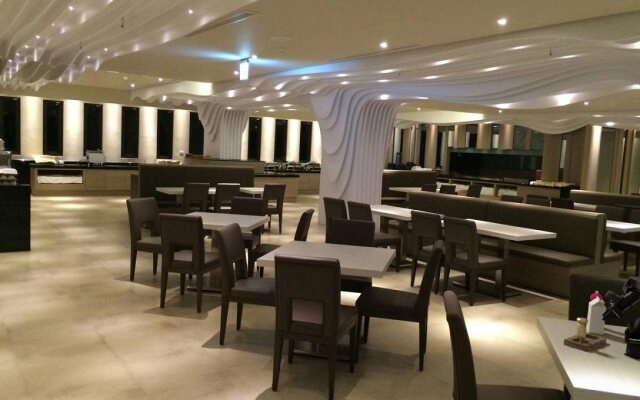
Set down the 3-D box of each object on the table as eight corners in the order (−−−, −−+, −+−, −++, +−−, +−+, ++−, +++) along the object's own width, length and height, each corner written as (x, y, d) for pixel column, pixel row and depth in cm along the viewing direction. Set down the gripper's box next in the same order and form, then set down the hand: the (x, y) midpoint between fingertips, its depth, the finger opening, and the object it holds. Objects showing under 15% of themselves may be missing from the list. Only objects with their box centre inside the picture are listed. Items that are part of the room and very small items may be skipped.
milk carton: (588, 333, 288) (592, 298, 287) (586, 329, 295) (589, 295, 293) (603, 335, 286) (607, 300, 285) (600, 331, 293) (604, 296, 291)
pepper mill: (597, 324, 305) (601, 289, 303) (602, 328, 298) (606, 293, 296) (584, 323, 306) (587, 288, 304) (589, 327, 298) (593, 292, 297)
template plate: (584, 336, 282) (584, 331, 282) (605, 343, 273) (606, 338, 273) (563, 344, 268) (564, 339, 268) (586, 351, 259) (586, 346, 259)
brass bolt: (587, 347, 266) (590, 320, 265) (580, 348, 264) (583, 321, 263) (579, 343, 270) (581, 317, 269) (572, 344, 268) (574, 318, 267)
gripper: (616, 283, 275) (590, 301, 280) (617, 289, 258) (590, 308, 264) (633, 301, 272) (606, 319, 277) (635, 308, 255) (607, 327, 261)
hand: (602, 318), depth 270 cm, fingers open, 9 cm apart
